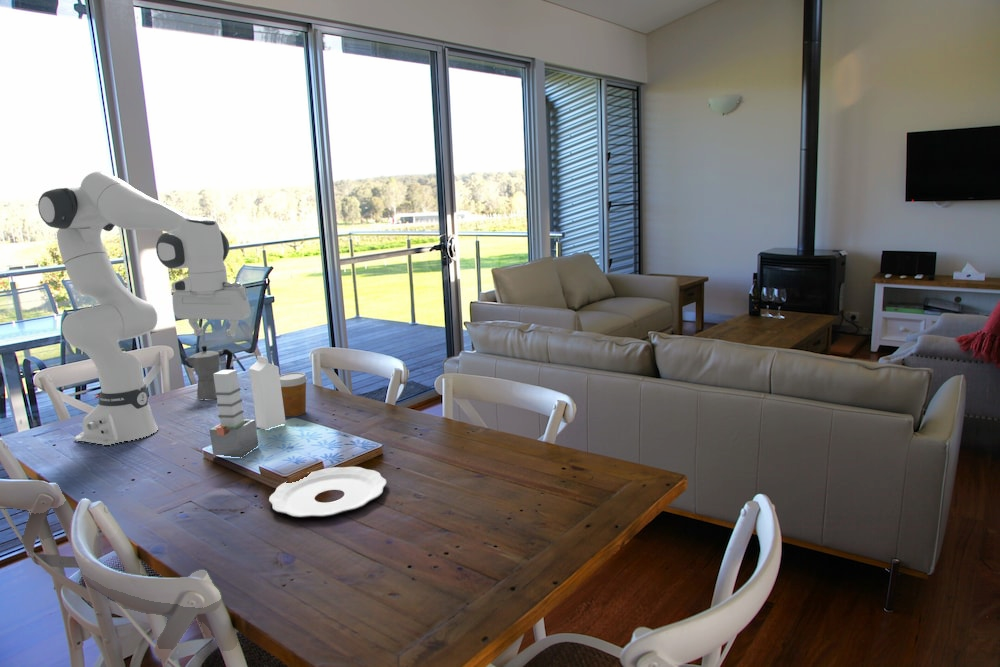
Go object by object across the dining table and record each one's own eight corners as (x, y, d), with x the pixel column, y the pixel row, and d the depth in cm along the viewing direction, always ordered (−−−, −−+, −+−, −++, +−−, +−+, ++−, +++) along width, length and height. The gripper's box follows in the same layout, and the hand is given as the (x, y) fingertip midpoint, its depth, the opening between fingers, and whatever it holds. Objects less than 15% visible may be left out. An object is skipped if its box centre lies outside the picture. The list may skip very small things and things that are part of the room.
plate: (328, 534, 135) (327, 525, 135) (246, 509, 149) (245, 501, 148) (409, 485, 156) (408, 477, 156) (330, 467, 169) (329, 459, 169)
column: (220, 434, 176) (212, 374, 172) (231, 428, 180) (222, 369, 177) (236, 434, 175) (227, 374, 171) (246, 428, 179) (237, 369, 176)
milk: (267, 435, 194) (257, 360, 189) (257, 431, 198) (246, 357, 193) (287, 429, 198) (277, 355, 194) (276, 425, 202) (266, 353, 198)
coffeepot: (194, 403, 229) (186, 351, 225) (188, 397, 237) (180, 347, 233) (241, 393, 238) (234, 343, 234) (234, 388, 245) (227, 339, 242)
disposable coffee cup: (277, 411, 215) (272, 375, 213) (308, 406, 219) (303, 370, 216) (281, 420, 207) (276, 382, 204) (313, 414, 210) (309, 377, 208)
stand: (196, 466, 174) (190, 429, 172) (229, 446, 187) (224, 411, 185) (245, 468, 170) (240, 430, 168) (275, 447, 184) (271, 412, 182)
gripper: (252, 280, 173) (258, 334, 176) (182, 280, 177) (189, 332, 180) (237, 284, 167) (244, 339, 170) (165, 284, 171) (173, 337, 174)
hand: (215, 335), depth 175 cm, fingers open, 8 cm apart
